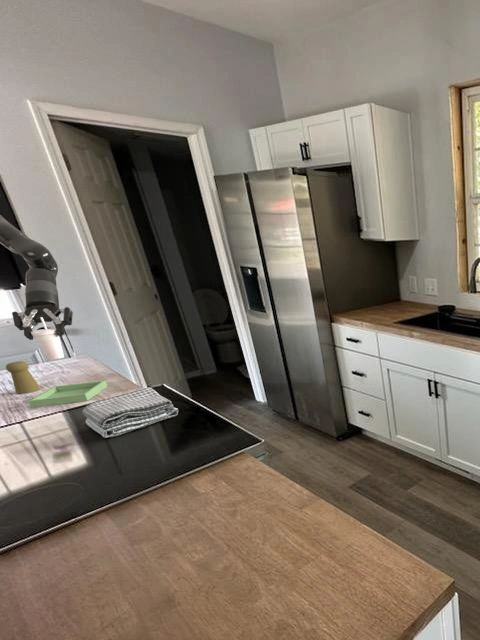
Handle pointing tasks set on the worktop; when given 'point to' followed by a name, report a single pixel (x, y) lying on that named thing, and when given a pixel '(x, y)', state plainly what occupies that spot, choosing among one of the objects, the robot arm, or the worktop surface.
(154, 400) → the towel
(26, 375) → the cork
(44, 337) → the smoothie
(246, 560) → the worktop surface
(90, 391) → the tray
